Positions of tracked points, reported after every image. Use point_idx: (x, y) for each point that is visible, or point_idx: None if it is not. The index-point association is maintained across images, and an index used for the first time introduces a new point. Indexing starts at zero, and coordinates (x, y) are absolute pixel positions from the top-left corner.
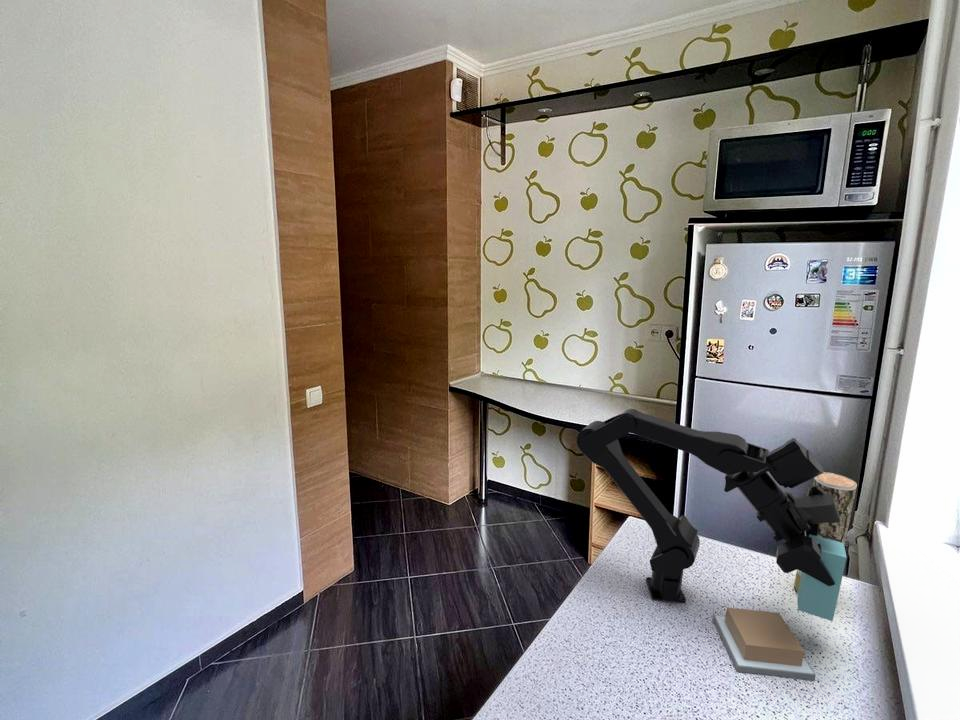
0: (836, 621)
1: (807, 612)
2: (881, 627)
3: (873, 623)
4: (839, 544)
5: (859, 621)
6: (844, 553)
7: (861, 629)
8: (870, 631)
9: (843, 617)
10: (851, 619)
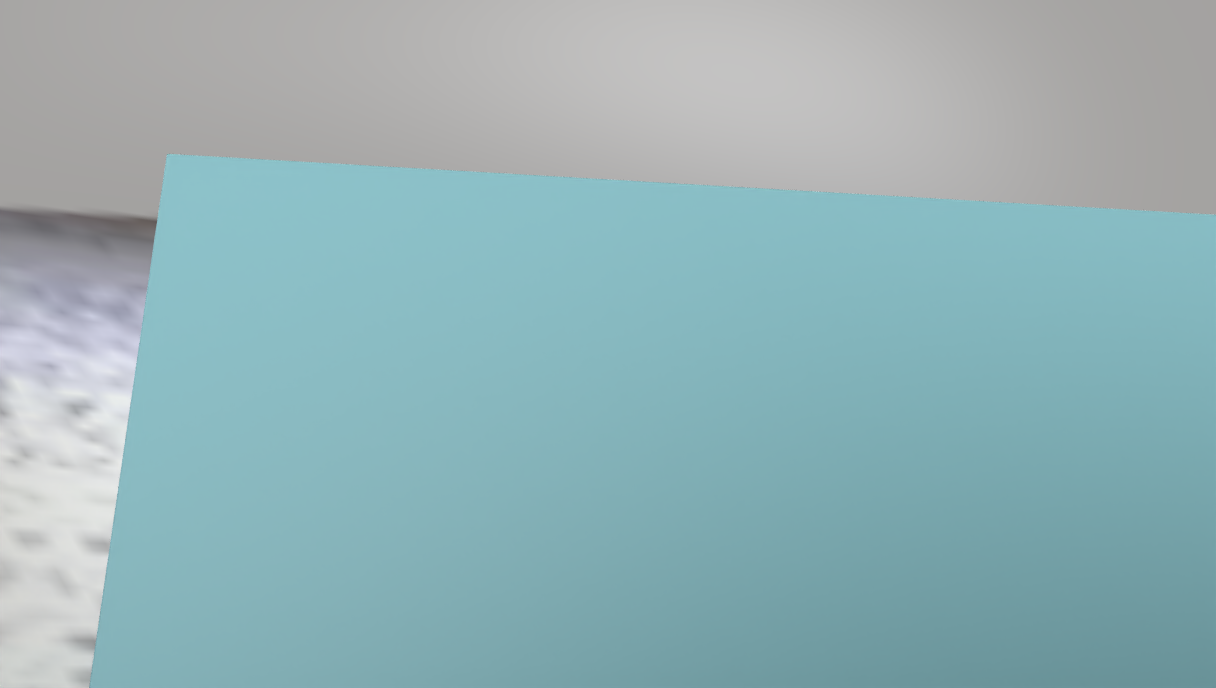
0: (112, 492)
1: None
2: (35, 210)
3: (4, 250)
4: (447, 360)
5: (25, 336)
6: (1198, 256)
7: (134, 336)
8: (129, 284)
9: (22, 439)
10: (23, 386)
